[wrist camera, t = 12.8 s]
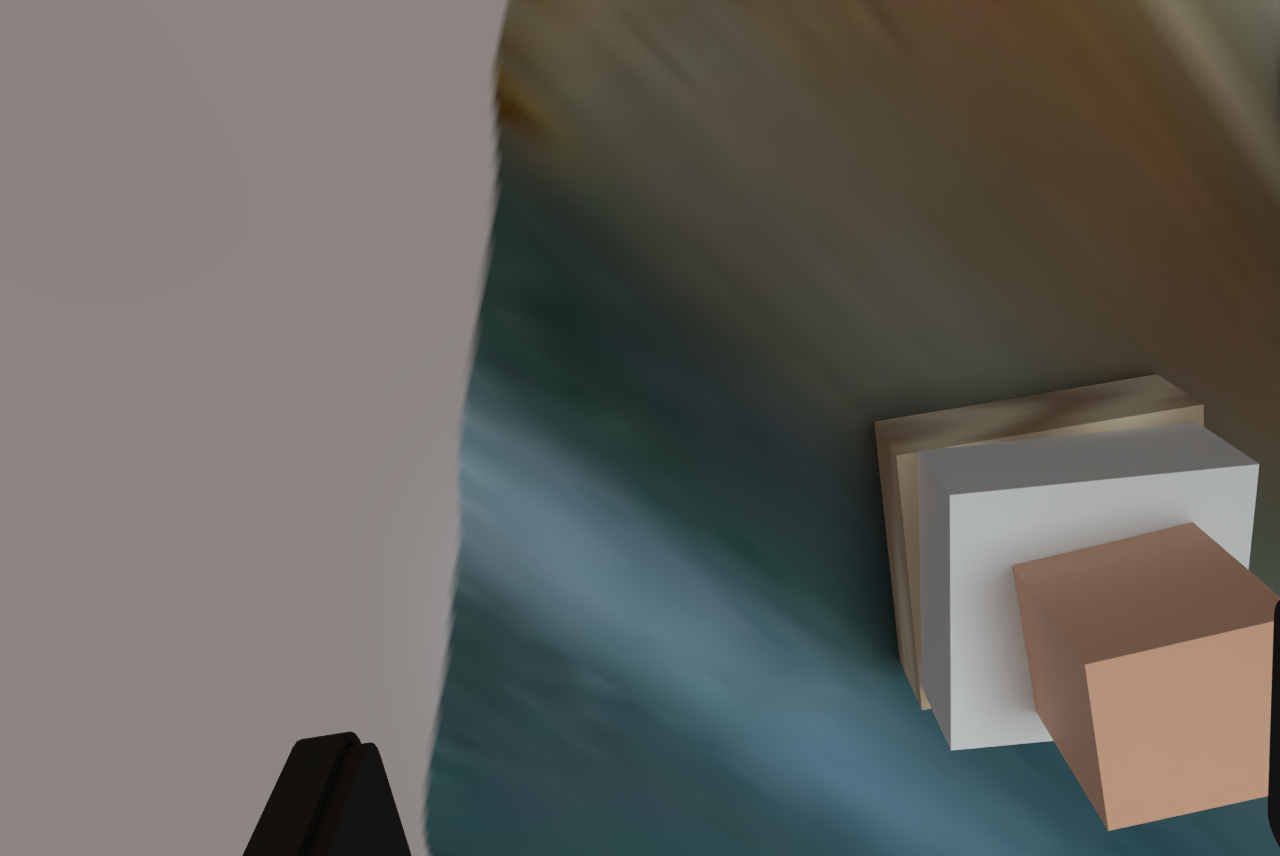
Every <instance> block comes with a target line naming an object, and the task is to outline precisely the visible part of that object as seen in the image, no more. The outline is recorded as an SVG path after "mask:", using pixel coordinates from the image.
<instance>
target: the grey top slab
mask: <svg viewBox="0 0 1280 856" xmlns="http://www.w3.org/2000/svg"><path fill="white" fill-rule="evenodd" d="M1258 472H1259V464H1258V463H1257V462H1255V461H1254V460H1253V459H1251V458H1250V457H1248V456H1247V455H1245V454H1244V453H1242V452H1241V451H1239V450H1238V449H1236V448H1235V447H1233V446H1232V445H1230V444H1229V443H1227V442H1226V441H1224V440H1223V439H1221V438H1220V437H1218V436H1217V435H1215V434H1214V433H1212V432H1211V431H1209V430H1208V429H1206V428H1205V427H1203V426H1202V425H1200V424H1199V423H1198V422H1195V423H1185V424H1175V425H1165V426H1155V427H1146V428H1136V429H1126V430H1116V431H1106V432H1096V433H1086V434H1077V435H1067V436H1057V437H1047V438H1037V439H1027V440H1017V441H1008V442H998V443H988V444H978V445H968V446H958V447H948V448H938V449H928V450H918V478H919V543H920V608H921V673H922V689H923V691H924V693H925V695H926V697H927V699H928V702H929V704H930V706H931V708H932V710H933V713H934V715H935V717H936V719H937V721H938V723H939V726H940V728H941V730H942V732H943V734H944V736H945V739H946V741H947V743H948V745H949V747H950V750H962V749H972V748H983V747H993V746H1004V745H1014V744H1025V743H1035V742H1046V741H1054V740H1053V739H1052V737H1051V736H1050V734H1049V732H1048V731H1047V729H1046V727H1045V726H1044V724H1043V722H1042V721H1041V719H1040V717H1039V716H1038V714H1037V712H1036V707H1035V701H1034V695H1033V689H1032V682H1031V676H1030V670H1029V664H1028V658H1027V652H1026V646H1025V640H1024V634H1023V628H1022V622H1021V615H1020V609H1019V603H1018V597H1017V591H1016V585H1015V579H1014V573H1013V567H1012V565H1017V564H1021V563H1025V562H1029V561H1033V560H1037V559H1042V558H1046V557H1050V556H1054V555H1058V554H1063V553H1067V552H1071V551H1075V550H1079V549H1083V548H1088V547H1092V546H1096V545H1100V544H1104V543H1109V542H1113V541H1117V540H1121V539H1125V538H1130V537H1134V536H1138V535H1142V534H1146V533H1150V532H1155V531H1159V530H1163V529H1167V528H1171V527H1176V526H1180V525H1184V524H1188V523H1192V522H1193V523H1194V524H1196V525H1197V526H1198V527H1199V528H1200V529H1201V530H1203V531H1204V532H1205V533H1206V534H1207V535H1208V536H1210V537H1211V538H1212V539H1213V540H1214V541H1215V542H1217V543H1218V544H1219V545H1220V546H1221V547H1222V548H1223V549H1225V550H1226V551H1227V552H1228V553H1229V554H1230V555H1232V556H1233V557H1234V558H1235V559H1236V560H1237V561H1239V562H1240V563H1241V564H1242V565H1243V566H1244V567H1246V568H1247V569H1249V560H1250V550H1251V540H1252V530H1253V521H1254V511H1255V501H1256V491H1257V482H1258Z"/></svg>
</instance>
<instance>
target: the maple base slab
mask: <svg viewBox="0 0 1280 856" xmlns="http://www.w3.org/2000/svg"><path fill="white" fill-rule="evenodd" d="M1195 422H1198V423H1199V424H1200V425H1202V426H1203V427H1204V404H1203V403H1201V402H1200V401H1198V400H1196V399H1195V398H1193V397H1192V396H1190V395H1189V394H1187V393H1185V392H1184V391H1182V390H1181V389H1179V388H1177V387H1176V386H1174V385H1173V384H1171V383H1170V382H1168V381H1166V380H1165V379H1163V378H1162V377H1160V376H1159V375H1157V374H1155V375H1149V376H1143V377H1137V378H1131V379H1126V380H1120V381H1114V382H1108V383H1102V384H1096V385H1090V386H1084V387H1078V388H1072V389H1066V390H1060V391H1054V392H1048V393H1042V394H1036V395H1031V396H1025V397H1019V398H1013V399H1007V400H1001V401H995V402H989V403H983V404H977V405H971V406H965V407H959V408H953V409H947V410H941V411H936V412H930V413H924V414H918V415H912V416H906V417H900V418H894V419H888V420H882V421H876V422H874V424H875V433H876V442H877V452H878V461H879V470H880V480H881V489H882V499H883V508H884V517H885V527H886V536H887V546H888V555H889V564H890V574H891V583H892V592H893V602H894V611H895V621H896V630H897V639H898V649H899V658H900V662H901V664H902V666H903V669H904V671H905V673H906V676H907V678H908V680H909V682H910V685H911V687H912V689H913V691H914V694H915V696H916V698H917V700H918V703H919V705H920V707H921V709H922V710H926V709H932V708H931V706H930V704H929V702H928V699H927V697H926V695H925V693H924V691H923V689H922V673H921V608H920V543H919V478H918V450H928V449H938V448H948V447H958V446H968V445H978V444H988V443H998V442H1008V441H1017V440H1027V439H1037V438H1047V437H1057V436H1067V435H1077V434H1086V433H1096V432H1106V431H1116V430H1126V429H1136V428H1146V427H1155V426H1165V425H1175V424H1185V423H1195Z"/></svg>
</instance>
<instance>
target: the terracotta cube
mask: <svg viewBox="0 0 1280 856" xmlns="http://www.w3.org/2000/svg"><path fill="white" fill-rule="evenodd" d="M1012 567H1013V573H1014V579H1015V585H1016V591H1017V597H1018V603H1019V609H1020V615H1021V622H1022V628H1023V634H1024V640H1025V646H1026V652H1027V658H1028V664H1029V670H1030V676H1031V682H1032V689H1033V695H1034V701H1035V707H1036V712H1037V714H1038V716H1039V717H1040V719H1041V721H1042V722H1043V724H1044V726H1045V727H1046V729H1047V731H1048V732H1049V734H1050V736H1051V737H1052V739H1053V740H1054V742H1055V744H1056V745H1057V747H1058V749H1059V750H1060V752H1061V754H1062V755H1063V757H1064V759H1065V760H1066V762H1067V763H1068V765H1069V767H1070V768H1071V770H1072V772H1073V773H1074V775H1075V777H1076V778H1077V780H1078V782H1079V783H1080V785H1081V787H1082V788H1083V790H1084V791H1085V793H1086V795H1087V796H1088V798H1089V800H1090V801H1091V803H1092V805H1093V806H1094V808H1095V810H1096V811H1097V813H1098V814H1099V816H1100V818H1101V819H1102V821H1103V823H1104V824H1105V826H1106V828H1107V829H1108V831H1110V830H1115V829H1119V828H1124V827H1128V826H1133V825H1138V824H1142V823H1147V822H1151V821H1156V820H1160V819H1165V818H1170V817H1174V816H1179V815H1183V814H1188V813H1192V812H1197V811H1202V810H1206V809H1211V808H1215V807H1220V806H1225V805H1229V804H1234V803H1238V802H1243V801H1247V800H1252V799H1257V798H1261V797H1266V796H1268V784H1269V753H1270V722H1271V691H1272V660H1273V630H1274V611H1275V606H1276V604H1277V602H1278V601H1279V600H1280V597H1279V596H1278V595H1277V594H1276V593H1275V592H1274V591H1272V590H1271V589H1270V588H1269V587H1268V586H1267V585H1265V584H1264V583H1263V582H1262V581H1261V580H1260V579H1258V578H1257V577H1256V576H1255V575H1254V574H1253V573H1251V572H1250V571H1249V570H1248V569H1247V568H1246V567H1244V566H1243V565H1242V564H1241V563H1240V562H1239V561H1237V560H1236V559H1235V558H1234V557H1233V556H1232V555H1230V554H1229V553H1228V552H1227V551H1226V550H1225V549H1223V548H1222V547H1221V546H1220V545H1219V544H1218V543H1217V542H1215V541H1214V540H1213V539H1212V538H1211V537H1210V536H1208V535H1207V534H1206V533H1205V532H1204V531H1203V530H1201V529H1200V528H1199V527H1198V526H1197V525H1196V524H1194V523H1193V522H1192V523H1188V524H1184V525H1180V526H1176V527H1171V528H1167V529H1163V530H1159V531H1155V532H1150V533H1146V534H1142V535H1138V536H1134V537H1130V538H1125V539H1121V540H1117V541H1113V542H1109V543H1104V544H1100V545H1096V546H1092V547H1088V548H1083V549H1079V550H1075V551H1071V552H1067V553H1063V554H1058V555H1054V556H1050V557H1046V558H1042V559H1037V560H1033V561H1029V562H1025V563H1021V564H1017V565H1012Z"/></svg>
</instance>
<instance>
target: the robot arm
mask: <svg viewBox="0 0 1280 856" xmlns="http://www.w3.org/2000/svg"><path fill="white" fill-rule="evenodd" d="M1268 818H1269V823H1270V827H1271V830H1272V832H1273V835H1274V837H1275V839H1276V841H1277V843H1278V845H1279V847H1280V600H1279V601H1278V602H1277V604H1276V606H1275V611H1274V630H1273V660H1272V691H1271V722H1270V753H1269V784H1268ZM243 856H411V853H410V850H409V846H408V843H407V840H406V836H405V833H404V830H403V827H402V824H401V820H400V817H399V814H398V811H397V808H396V804H395V801H394V798H393V795H392V791H391V788H390V785H389V782H388V779H387V776H386V772H385V769H384V766H383V762H382V759H381V756H380V753H379V751H378V748H377V747H376V745H375V744H374V743H365V744H361V742H360V740H359V738H358V737H357V735H356V734H355V733H353V732H345V733H338V734H332V735H326V736H319V737H313V738H307V739H301V740H299V741H297V742H296V744H295V745H294V747H293V748H292V751H291V753H290V755H289V757H288V759H287V761H286V764H285V766H284V768H283V770H282V772H281V774H280V776H279V779H278V781H277V783H276V785H275V787H274V789H273V791H272V793H271V796H270V798H269V800H268V802H267V804H266V806H265V808H264V811H263V813H262V815H261V817H260V819H259V822H258V824H257V826H256V828H255V830H254V832H253V834H252V837H251V839H250V841H249V843H248V845H247V847H246V849H245V851H244V854H243Z"/></svg>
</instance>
